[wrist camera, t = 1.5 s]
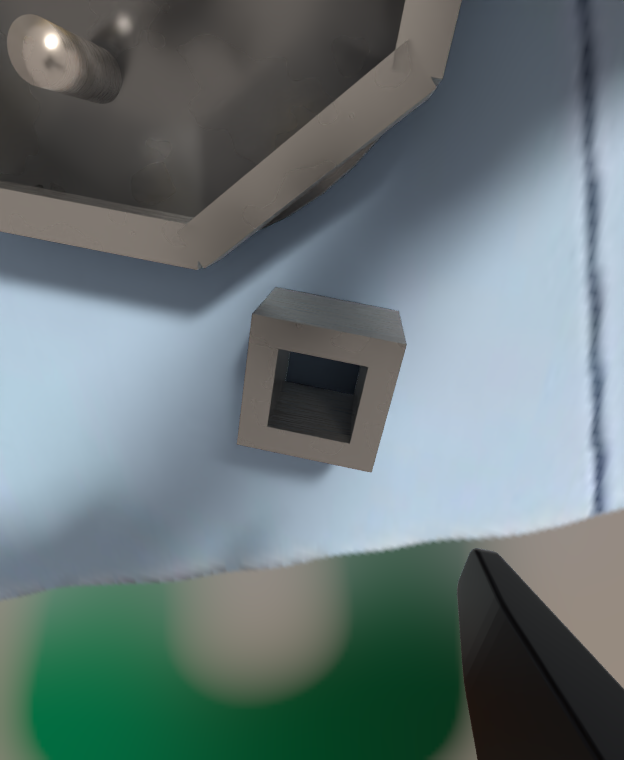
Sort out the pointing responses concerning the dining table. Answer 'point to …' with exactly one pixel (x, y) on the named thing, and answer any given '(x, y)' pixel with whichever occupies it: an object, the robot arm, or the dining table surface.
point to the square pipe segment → (311, 404)
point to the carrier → (198, 113)
